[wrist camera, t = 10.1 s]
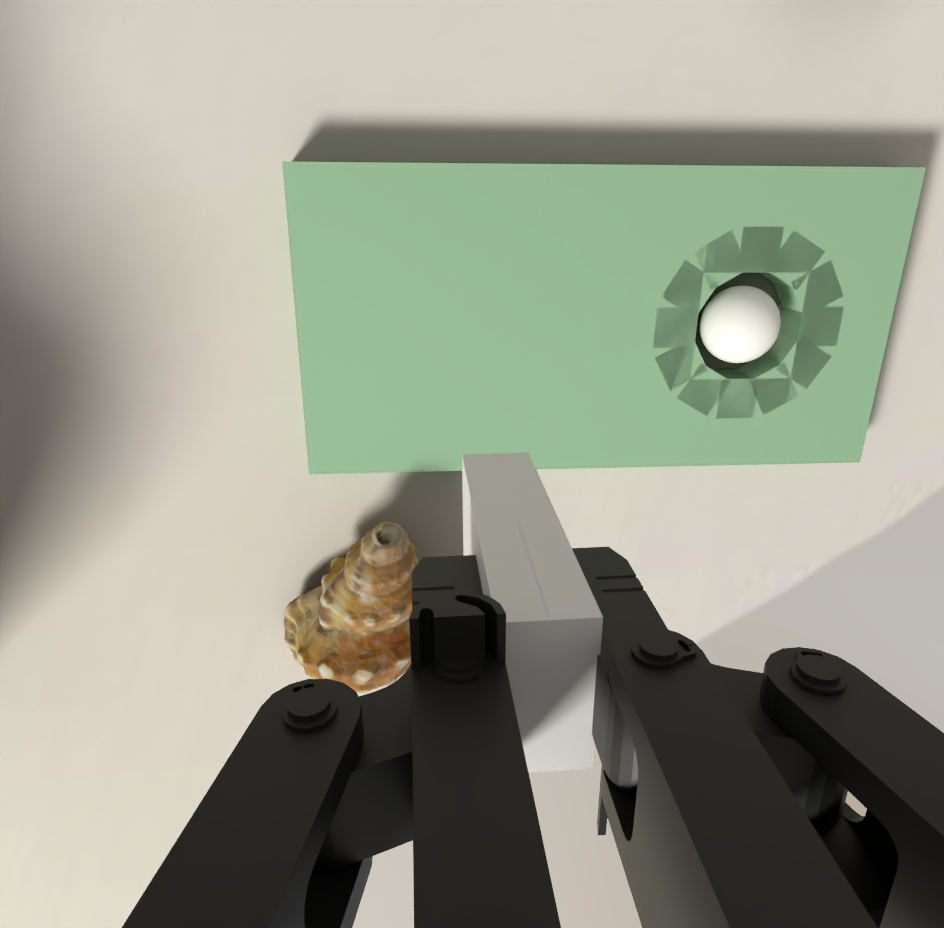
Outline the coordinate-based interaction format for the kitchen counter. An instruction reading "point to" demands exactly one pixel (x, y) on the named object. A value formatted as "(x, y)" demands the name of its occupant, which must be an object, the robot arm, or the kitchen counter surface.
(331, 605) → the seashell
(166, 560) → the kitchen counter surface
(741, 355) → the ball
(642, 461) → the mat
